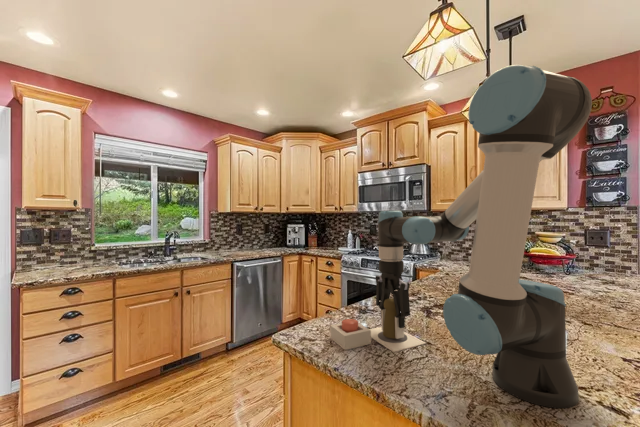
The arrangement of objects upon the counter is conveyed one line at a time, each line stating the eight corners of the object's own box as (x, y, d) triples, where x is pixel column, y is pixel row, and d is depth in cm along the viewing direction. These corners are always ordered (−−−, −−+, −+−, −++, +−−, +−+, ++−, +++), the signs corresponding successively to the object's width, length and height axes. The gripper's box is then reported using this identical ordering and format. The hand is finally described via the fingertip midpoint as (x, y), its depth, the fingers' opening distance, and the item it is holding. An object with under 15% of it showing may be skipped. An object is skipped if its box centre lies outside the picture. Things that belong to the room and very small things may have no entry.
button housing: (370, 343, 85) (370, 330, 85) (344, 350, 81) (344, 335, 81) (354, 332, 93) (354, 320, 93) (330, 338, 89) (330, 325, 89)
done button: (361, 333, 86) (361, 323, 86) (347, 336, 84) (347, 326, 84) (352, 327, 90) (352, 317, 90) (339, 330, 88) (338, 320, 88)
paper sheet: (426, 343, 84) (426, 342, 84) (394, 352, 79) (394, 351, 79) (391, 325, 99) (391, 324, 99) (362, 331, 94) (362, 330, 94)
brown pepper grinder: (403, 339, 85) (402, 302, 85) (382, 337, 86) (382, 301, 87) (401, 331, 91) (401, 296, 91) (382, 330, 92) (381, 296, 93)
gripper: (422, 262, 82) (424, 343, 82) (382, 255, 99) (383, 321, 99) (402, 264, 79) (404, 348, 79) (364, 257, 96) (365, 325, 96)
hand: (392, 333), depth 89 cm, fingers closed on brown pepper grinder, 6 cm apart
